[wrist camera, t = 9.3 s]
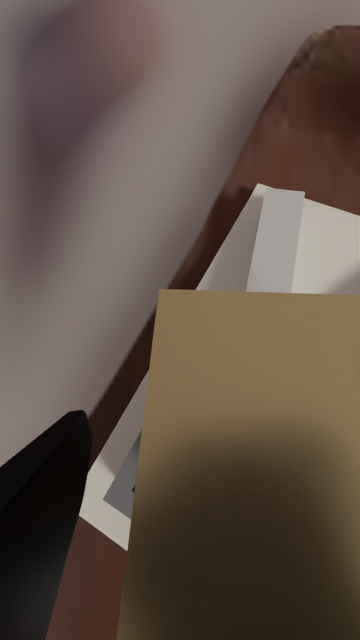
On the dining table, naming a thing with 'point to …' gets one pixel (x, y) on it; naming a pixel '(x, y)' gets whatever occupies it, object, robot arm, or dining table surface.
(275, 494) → the tan wooden pillar
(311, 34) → the dining table surface
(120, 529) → the shaft mount
